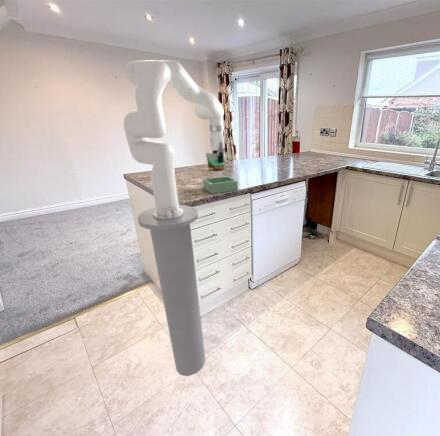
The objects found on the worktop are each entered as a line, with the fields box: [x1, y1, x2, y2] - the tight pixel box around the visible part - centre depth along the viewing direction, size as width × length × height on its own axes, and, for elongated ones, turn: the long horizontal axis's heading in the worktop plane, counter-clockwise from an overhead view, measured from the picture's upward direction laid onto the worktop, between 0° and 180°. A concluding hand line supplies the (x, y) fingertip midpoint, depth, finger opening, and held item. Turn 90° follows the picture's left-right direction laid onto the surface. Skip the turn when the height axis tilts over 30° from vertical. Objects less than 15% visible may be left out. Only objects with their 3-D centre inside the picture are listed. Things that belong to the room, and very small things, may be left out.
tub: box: [202, 175, 239, 195], centre depth 148 cm, size 13×17×6 cm
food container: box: [205, 151, 227, 172], centre depth 142 cm, size 12×6×10 cm, turn 137°
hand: (218, 161), depth 142 cm, fingers closed on food container, 6 cm apart
